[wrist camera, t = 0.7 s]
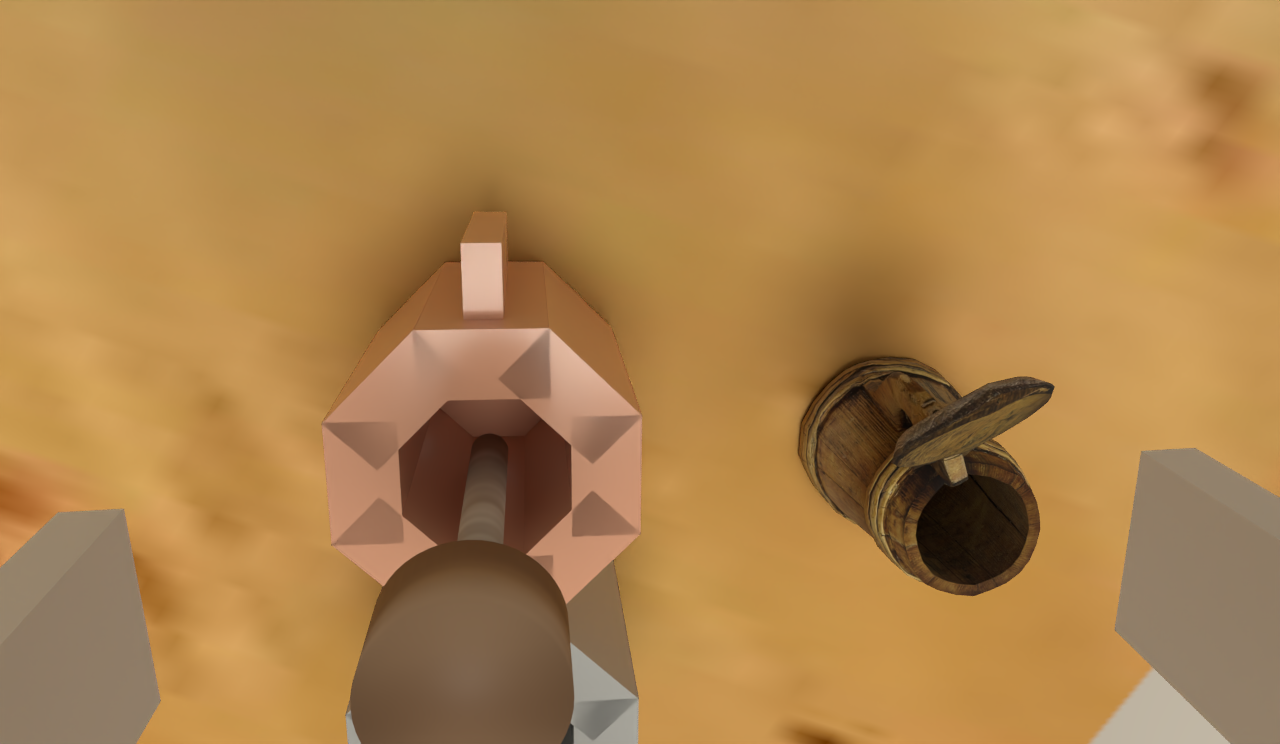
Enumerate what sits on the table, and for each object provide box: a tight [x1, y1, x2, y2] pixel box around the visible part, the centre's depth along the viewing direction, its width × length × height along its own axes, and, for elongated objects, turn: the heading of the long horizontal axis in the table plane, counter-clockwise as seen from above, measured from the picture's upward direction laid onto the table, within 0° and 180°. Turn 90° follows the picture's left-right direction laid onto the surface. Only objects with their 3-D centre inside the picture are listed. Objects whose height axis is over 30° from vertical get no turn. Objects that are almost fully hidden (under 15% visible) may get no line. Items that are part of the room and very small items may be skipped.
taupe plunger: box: [350, 433, 574, 744], centre depth 30 cm, size 5×5×16 cm
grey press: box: [346, 560, 639, 744], centre depth 45 cm, size 14×11×14 cm
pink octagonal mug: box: [322, 212, 642, 604], centre depth 41 cm, size 14×11×14 cm
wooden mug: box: [799, 357, 1055, 596], centre depth 42 cm, size 9×14×18 cm, turn 21°
